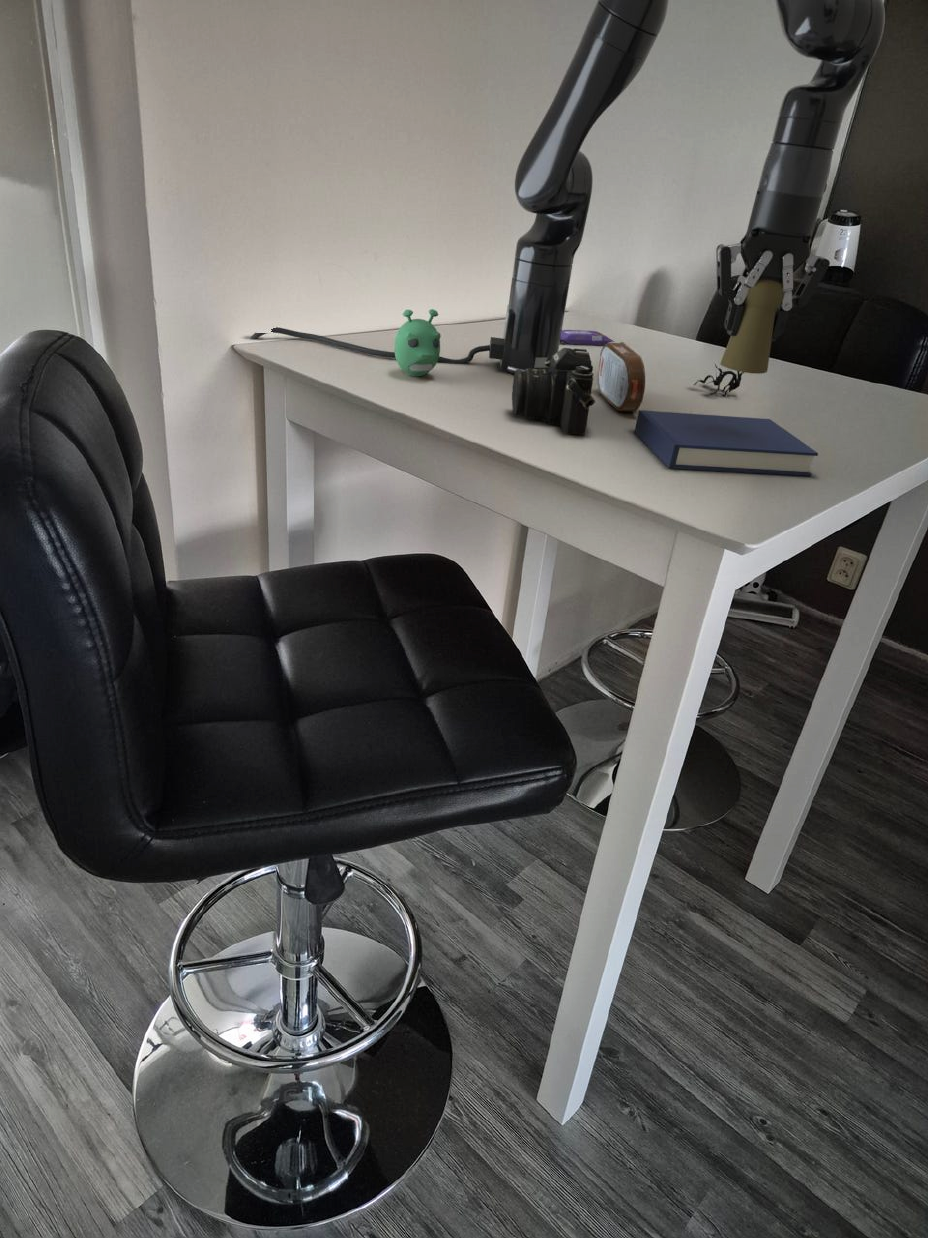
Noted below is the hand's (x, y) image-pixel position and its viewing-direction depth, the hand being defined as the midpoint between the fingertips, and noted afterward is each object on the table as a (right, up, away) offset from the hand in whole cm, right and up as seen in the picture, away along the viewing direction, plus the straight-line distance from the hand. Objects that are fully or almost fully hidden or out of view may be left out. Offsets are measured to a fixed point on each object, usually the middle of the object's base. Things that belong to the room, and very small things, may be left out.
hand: (751, 336), depth 112 cm
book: (-2, -14, +8) cm, 16 cm away
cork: (0, -4, +2) cm, 4 cm away
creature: (+6, +2, +37) cm, 37 cm away
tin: (-13, -3, +24) cm, 27 cm away
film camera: (-25, -8, +13) cm, 29 cm away
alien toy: (-44, +1, +24) cm, 50 cm away
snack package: (-14, +18, +59) cm, 63 cm away
